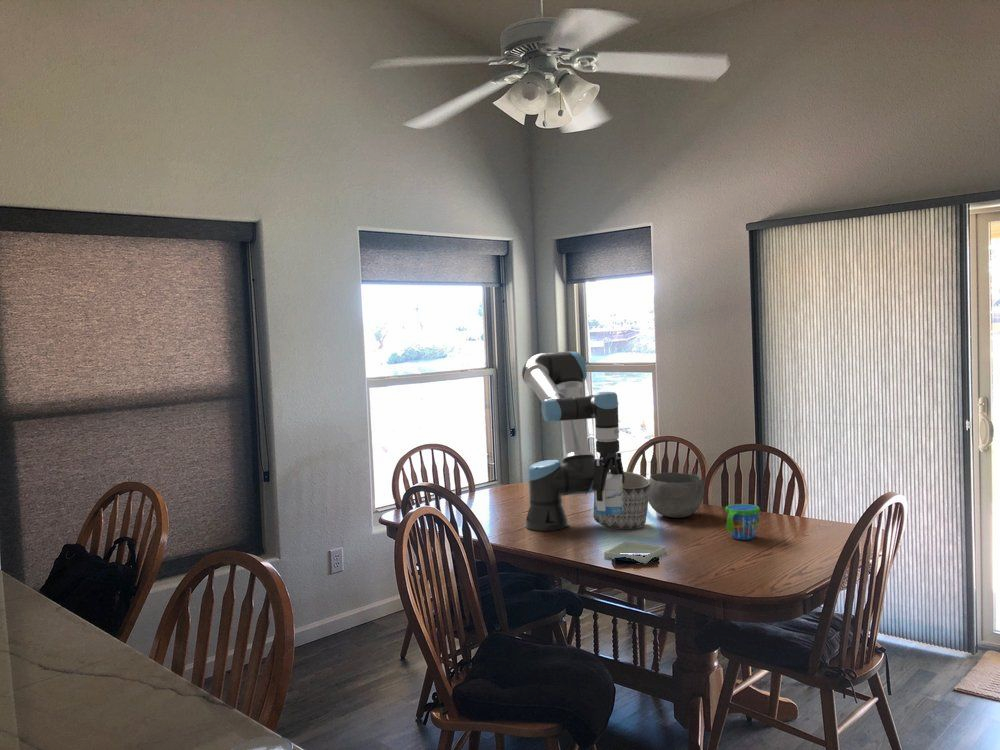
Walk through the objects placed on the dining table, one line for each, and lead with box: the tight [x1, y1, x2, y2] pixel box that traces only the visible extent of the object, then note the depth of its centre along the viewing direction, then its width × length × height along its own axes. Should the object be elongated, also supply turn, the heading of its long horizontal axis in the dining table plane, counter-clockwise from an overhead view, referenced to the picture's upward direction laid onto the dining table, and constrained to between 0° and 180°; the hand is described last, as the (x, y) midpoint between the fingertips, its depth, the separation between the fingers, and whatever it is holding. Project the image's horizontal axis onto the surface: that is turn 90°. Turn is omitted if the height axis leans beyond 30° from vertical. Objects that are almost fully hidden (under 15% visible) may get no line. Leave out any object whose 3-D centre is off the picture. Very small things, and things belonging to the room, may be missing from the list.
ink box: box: [595, 474, 623, 514], centre depth 269 cm, size 8×8×12 cm
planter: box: [592, 470, 650, 530], centre depth 291 cm, size 19×19×16 cm
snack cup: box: [725, 503, 761, 541], centre depth 269 cm, size 16×10×10 cm
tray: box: [603, 541, 667, 565], centre depth 255 cm, size 14×14×2 cm
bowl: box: [648, 472, 705, 519], centre depth 303 cm, size 20×20×15 cm
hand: (609, 506), depth 270 cm, fingers closed on ink box, 10 cm apart
